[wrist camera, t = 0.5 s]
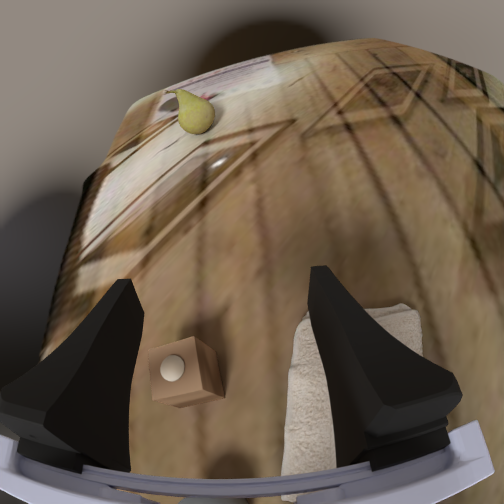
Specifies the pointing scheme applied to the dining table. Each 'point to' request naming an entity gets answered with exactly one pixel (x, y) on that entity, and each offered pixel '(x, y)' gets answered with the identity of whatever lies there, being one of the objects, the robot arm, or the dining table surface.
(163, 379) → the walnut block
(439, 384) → the robot arm
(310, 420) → the washcloth
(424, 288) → the dining table surface
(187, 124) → the fruit
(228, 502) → the slate cylinder
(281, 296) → the dining table surface
